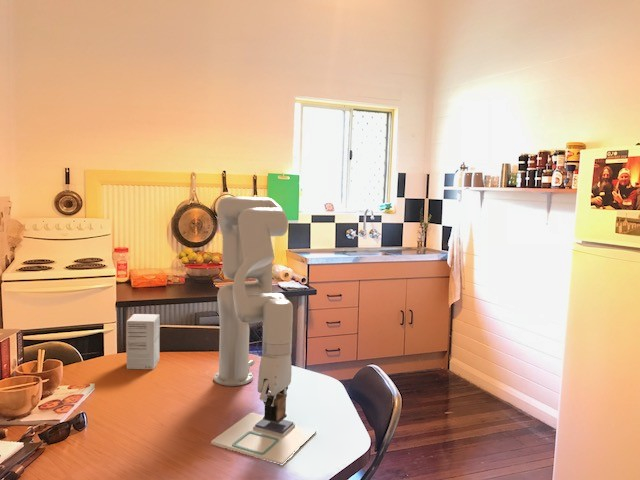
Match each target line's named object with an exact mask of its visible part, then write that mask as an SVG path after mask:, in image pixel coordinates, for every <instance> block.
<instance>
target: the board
mask: <svg viewBox="0 0 640 480" xmlns="http://www.w3.org/2000/svg"><path fill="white" fill-rule="evenodd" d="M263 417H264V415H262V414H260V413H259V414H258V413H256V412H253V411H252V412H250V413H248V414H247V415H245V416H244V417H242V418H241V419H240V420H238V421H237V422H236V423H234V424H233V425H231V427H228V428H227V429H225V430H224V431H223V432H221V433H220V434H219V435H218V436H216V437H215V438H214V439H212V440H211V442H210V444H211V445H212V446H216V447H219V448H222V449H225V448H227V449H226V450H228V451H232V450H233V452H235V451H237V452H236V453H238V452H240V454H242V453H244V454H243V455H245V454H247V455H246V456H248V455H251V456H254V457H253V458H255V457H257V458H256V459H258V458H261V459H265V460H268V461H272V462H276V463H279V464H283V463H284V462H285V461H286V460H287V459H288V458H289V457H290V456H291V455H292V454H293V452H295V450H296V449H297V448H298V447H299V446H300V445H301V444H302V443H303V442H304V441H305V440H306V439H304V438H305V436H306V437H307V438H308V437H309V436H308V435H305V434H306V433H303V434H300V432H301V433H302V432H304V431H306V430H303V431H299V430H300V429H302V428H303V427H302V428H298V429H295V428H297V426H295V425H296V424H297V423H294V421H290V420H287V419H283V420H282V421H281V422H280V423H274V422H270V421H266V420H263ZM299 427H300V426H299ZM293 429H295V430H293ZM297 431H299V432H297ZM301 435H305V436H301ZM297 436H298V437H297ZM300 438H302V440H300ZM294 440H295V441H294ZM300 441H301V442H300ZM251 456H250V457H251ZM261 459H260V460H261ZM268 461H267V462H268Z"/></svg>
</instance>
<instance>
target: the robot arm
mask: <svg viewBox="0 0 640 480" xmlns="http://www.w3.org/2000/svg"><path fill="white" fill-rule="evenodd" d="M216 213H217V220H218V225H219V227H220V231H221V236H222V273H223V276H224V277H225V278H226V279H228V280H233V282H232V283H228V284H225V285H222V286H221V287H220V288H219V289H218V290H217V296H216V297H217V307H218V314H219V343H218V344H219V346H218V347H219V348H218V353H219V357H218V371H217V372H215V373H214V375H213V381H214V382H215V383H216V384H218V385H221V386H226V387H227V386H228V387H236V386H239V387H240V386H243V385H246V384H248V383H250V382H252V381H253V379H254V375H253V373H252V372H251V371H250V368H251V367H253V366H255V364H256V363H255V361H254V359H249V355H250V352H249V351H250V323H261V322H262V341H261V342H262V344H261V347H262V349H261V350H262V351H261V357H260V361H259V366H258V376H257V377H258V379H257V392H258V393H259V394H260V395H259V400H260V401H262V402H263V405H264V413H263V414H264V415H263V416H264V418H265V419H268V420H271V421H275V420H276V409H277V406H276V405H275V401H276V394H277V393H281V394H285V395H286V398H287V397H288V393H287V391H288V389H289V386H290V385H291V382H292V350H293V349H292V347H293V344H292V343H293V314H294V305H293V303H292V302H291V301H290V300H289V299H288V298H287V297H286V296H285V294H283V293H281V292H273V260H275V259H274V258H275V253H274V249H273V242H272V237H283V236H284V235H286V233H287V231H288V227H289V222H288V221H289V220H288V218H287V214H286V212H285V210H284V209H283V208H282V207H281V206H280V205H279V203H277V202H276V201H275V200H274V199H273V198H270V197H265V196H264V197H261V196H260V197H258V196H257V197H256V196H227V197H224V198H222V199H220V200H219V202H218V204H217V208H216ZM246 280H255V282H246ZM268 396H272V400H271V399H270V398H268Z"/></svg>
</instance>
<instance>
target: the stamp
mask: <svg viewBox="0 0 640 480" xmlns="http://www.w3.org/2000/svg"><path fill="white" fill-rule="evenodd" d="M268 398H270V399H271V400H272V396H268ZM275 405H276V406H277V409H276V420H275V421H271V420H268V419H265V418H264V417H263V420H266V421H270V422H274V423H280V422H281V421H282V420H285V419H286V418H287V416H288V415H287V413H286V411H287V410H286V408H287V397H286V395H285V394H281V393H277V394H276V401H275Z"/></svg>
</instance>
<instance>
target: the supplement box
mask: <svg viewBox="0 0 640 480" xmlns="http://www.w3.org/2000/svg"><path fill="white" fill-rule="evenodd" d="M160 318H161V317H160V314H159V313H158V314H157V313H156V314H155V313H154V314H153V313H152V314H151V313H134V314H132V315H131V316H130V317H129V318H128V319H127V320H126V322H125V324H126V327H125V328H126V339H125V340H126V370H154V369H155V368H156V366H157V364H158V363H159V361H160V331H161V330H160V325H161V324H160V323H161V322H160V321H161V320H160Z"/></svg>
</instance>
